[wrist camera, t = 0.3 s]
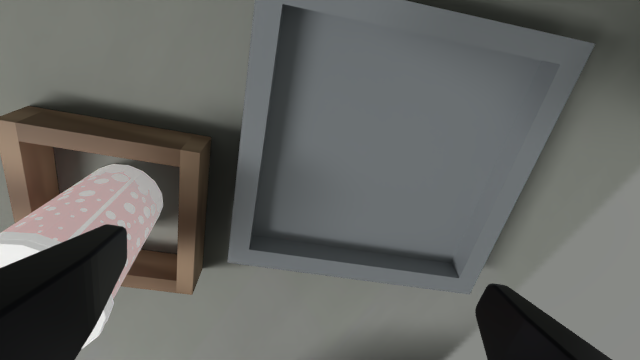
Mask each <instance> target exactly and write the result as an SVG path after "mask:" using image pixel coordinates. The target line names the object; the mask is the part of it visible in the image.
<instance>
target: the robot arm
mask: <svg viewBox="0 0 640 360" xmlns="http://www.w3.org/2000/svg"><path fill="white" fill-rule="evenodd" d="M126 261H127V231H126V229H125V228H124V227H123V226H117V225H110V224H105V225H103V226H100V227H98V228H95V229H93V230H91V231H88V232H86V233H83V234H81V235H79V236H76V237H74V238H71V239H69V240H66V241H64V242H62V243H59V244H57V245H54V246H52V247H50V248H47V249H45V250H42V251H40V252H38V253H35V254H33V255H30V256H28V257H26V258H23V259H21V260H18V261H16V262H13V263H11V264H9V265H6V266H4V267H1V268H0V360H75V358H76V357H77V355H78V353H79V352H80V350H81V349H82V347H83V345H84V344H85V342H86V341H87V339H88V337H89V336H90V334H91V333H92V331H93V329H94V328H95V326H96V324H97V322H98V320H99V318H100V316H101V314H102V312H103V310H104V308H105V306H106V304H107V302H108V300H109V298H110V296H111V294H112V291H113V289H114V287H115V285H116V283H117V281H118V279H119V277H120V275H121V273H122V271H123V269H124V267H125V264H126ZM476 318H477V322H478V326H479V329H480V333H481V337H482V340H483V344H484V348H485V351H486V355H487V359H488V360H612V359H610V358H609V357H607V356H606V355H604V354H603V353H602V352H600V351H599V350H597V349H596V348H595V347H593V346H592V345H590V344H589V343H588V342H586V341H585V340H583V339H582V338H580V337H579V336H577V335H576V334H575V333H573V332H572V331H570V330H569V329H568V328H566V327H565V326H563V325H562V324H560V323H559V322H557V321H556V320H555V319H553V318H552V317H551V316H549V315H548V314H546V313H545V312H543V311H542V310H540V309H539V308H537V307H536V306H535V305H533V304H532V303H531V302H529V301H528V300H526V299H525V298H523V297H522V296H521V295H519V294H518V293H516V292H515V291H513V290H512V289H511V288H509V287H508V286H505V285H500V284H489V285H488V286H487V287H486V289H485V291H484V293H483V295H482V297H481V298H480V300H479V302H478V304H477V306H476Z"/></svg>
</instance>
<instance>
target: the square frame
mask: <svg viewBox="0 0 640 360" xmlns="http://www.w3.org/2000/svg"><path fill="white" fill-rule="evenodd" d="M53 147H57V148H64V149H70V150H76V151H82V152H89V153H95V154H101V155H107V156H114V157H120V158H126V159H132V160H139V161H145V162H151V163H157V164H164V165H170V166H176V167H180V180H179V215H178V250H177V254H171V253H163V252H156V251H148V250H140V252H139V253H138V255H137V257H136V259H135V261H134V262H133V264H132V266H131V268H130V270H129V271H128V273H127V275H126V277H125V279H124V280H123V282H122V284H121V286H124V287H132V288H140V289H149V290H157V291H165V292H174V293H182V294H190V295H192V294H193V291H194V289H195V286H196V284H197V281H198V279H199V276H200V274H201V271H202V266H203V251H204V237H205V222H206V207H207V192H208V178H209V163H210V148H211V137H208V136H202V135H196V134H190V133H184V132H179V131H173V130H167V129H161V128H155V127H149V126H143V125H138V124H132V123H126V122H120V121H114V120H108V119H102V118H97V117H91V116H85V115H79V114H73V113H67V112H61V111H56V110H50V109H44V108H38V107H32V106H27V107H24V108H21V109H19V110H16V111H13V112H11V113H8V114H5V115H3V116H0V154H1V159H2V164H3V168H4V173H5V178H6V183H7V188H8V193H9V197H10V202H11V207H12V212H13V217H14V221H15V223H17V222H18V221H20V220H21V219H23V218H24V217H26V216H27V215H29V214H30V213H32V212H33V211H35V210H36V209H38V208H40V207H41V206H43V205H44V204H46V203H47V202H49V201H50V200H52V199H53V198H55V197H56V196H58V195H59V187H58V180H57V173H56V166H55V158H54V151H53Z"/></svg>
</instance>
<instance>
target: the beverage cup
mask: <svg viewBox="0 0 640 360" xmlns="http://www.w3.org/2000/svg"><path fill="white" fill-rule="evenodd" d="M162 208H163V198H162V193H161V191H160V189H159V187H158V186H157V184H156V182H155V181H154V180H153V179H152V178H151V177H149V176H148V175H147V174H146V173H145V172H144V171H141V170H139V169H137V168H134V167H132V166H129V165H120V164H111V165H108V166H105V167H102V168H99V169H98V170H96V171H95V172H93V173H92V174H90V175H88V176H87V177H85V178H84V179H82V180H81V181H79V182H78V183H76V184H75V185H73V186H72V187H70V188H69V189H67V190H66V191H64V192H62V193H61V194H59V195H58V196H56V197H55V198H53V199H52V200H50V201H49V202H47V203H46V204H44V205H43V206H41V207H40V208H38V209H36V210H35V211H33V212H32V213H30V214H29V215H27V216H26V217H24V218H23V219H21V220H20V221H18V222H17V223H15V224H14V225H12V226H10V227H9V228H7V229H6V230H4V231H3V232H1V233H0V268H1V267H4V266H6V265H9V264H11V263H13V262H16V261H18V260H21V259H23V258H26V257H28V256H30V255H33V254H35V253H38V252H40V251H42V250H45V249H47V248H50V247H52V246H54V245H57V244H59V243H62V242H64V241H66V240H69V239H71V238H74V237H76V236H79V235H81V234H83V233H86V232H88V231H91V230H93V229H95V228H98V227H100V226H103V225H105V224H110V225H117V226H123V227H124V228H125V229H126V231H127V261H126V264H125V267H124V269H123V271H122V273H121V275H120V277H119V279H118V281H117V283H116V285H115V287H114V289H113V291H112V294H111V296H110V298H109V300H108V302H107V304H106V306H105V308H104V310H103V312H102V314H101V316H100V318H99V320H98V322H97V324H96V326H95V328H94V329H93V331H92V333H91V334H90V336H89V337H88V339H87V341H86V342H85V344H84V345H83V347H82V348H84V347H85V346H86V345H88V344H89V343H90V342H91V341H93V340H94V339H95V338H97V337H98V336H99V335H100V333H101V332H102V330H103V327H104V324H105V323H106V322H107V321H108V318H109V315H110V313H111V310H112V307H113V305H114V301H113V298H114V297H115V295H116V293H117V291H118V289H119V288H120V286H121V284H122V282H123V280H124V279H125V277H126V275H127V273H128V271H129V270H130V268H131V266H132V264H133V262H134V261H135V259H136V257H137V255H138V253H139V252H140V250H141V248H142V246H143V244H144V243H145V241H146V239H147V237H148V235H149V234H150V232H151V230H152V228H153V226H154V224H155V223H156V221H157V219H158V217H159V215H160V213H161V210H162Z"/></svg>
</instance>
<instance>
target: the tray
mask: <svg viewBox="0 0 640 360" xmlns="http://www.w3.org/2000/svg"><path fill="white" fill-rule="evenodd" d="M594 46H595V44H594V43H590V42H586V41H581V40H577V39H573V38H568V37H564V36H559V35H555V34H551V33H546V32H542V31H538V30H533V29H529V28H524V27H520V26H516V25H511V24H507V23H502V22H498V21H494V20H489V19H485V18H481V17H476V16H472V15H467V14H463V13H459V12H454V11H450V10H445V9H441V8H437V7H432V6H428V5H424V4H419V3H415V2H410V1H406V0H255V5H254V15H253V24H252V34H251V43H250V53H249V62H248V72H247V81H246V90H245V100H244V109H243V119H242V128H241V138H240V147H239V157H238V166H237V176H236V185H235V195H234V204H233V213H232V223H231V232H230V242H229V251H228V261H227V263H235V264H243V265H250V266H258V267H265V268H273V269H281V270H288V271H296V272H303V273H311V274H319V275H326V276H334V277H341V278H349V279H356V280H364V281H372V282H379V283H387V284H394V285H402V286H410V287H417V288H425V289H432V290H440V291H448V292H455V293H463V294H470V293H471V291H472V289H473V287H474V285H475V283H476V281H477V279H478V277H479V275H480V273H481V271H482V269H483V267H484V265H485V263H486V261H487V259H488V257H489V255H490V253H491V251H492V249H493V247H494V245H495V243H496V241H497V239H498V237H499V235H500V233H501V231H502V229H503V227H504V225H505V223H506V221H507V219H508V217H509V215H510V213H511V211H512V209H513V207H514V205H515V203H516V201H517V199H518V197H519V195H520V193H521V191H522V189H523V187H524V185H525V183H526V181H527V179H528V177H529V175H530V173H531V171H532V169H533V167H534V165H535V163H536V161H537V159H538V157H539V155H540V153H541V151H542V149H543V147H544V145H545V143H546V141H547V139H548V137H549V135H550V133H551V131H552V129H553V127H554V125H555V123H556V121H557V119H558V117H559V115H560V113H561V111H562V109H563V107H564V105H565V103H566V101H567V99H568V97H569V95H570V93H571V91H572V89H573V87H574V85H575V83H576V82H577V80H578V78H579V76H580V74H581V72H582V70H583V68H584V66H585V64H586V62H587V60H588V58H589V56H590V54H591V52H592V50H593V48H594Z"/></svg>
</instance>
